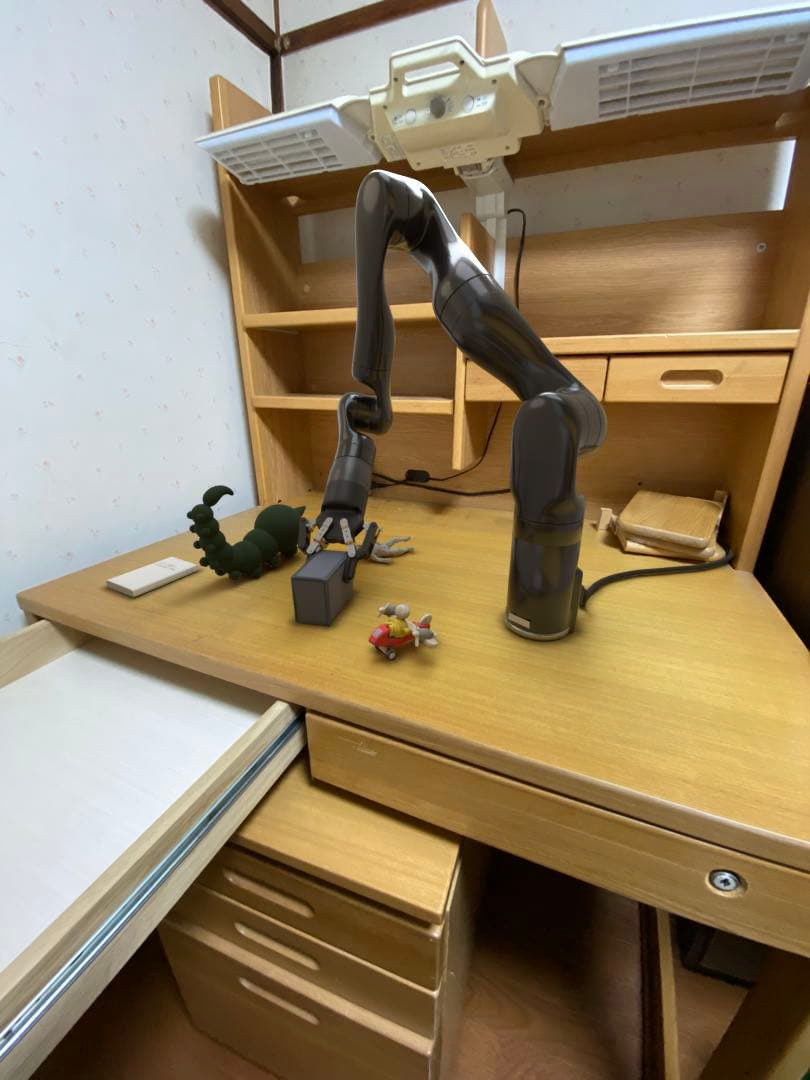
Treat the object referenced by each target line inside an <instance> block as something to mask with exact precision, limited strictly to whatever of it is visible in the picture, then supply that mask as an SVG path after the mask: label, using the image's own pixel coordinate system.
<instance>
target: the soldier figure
mask: <svg viewBox="0 0 810 1080" xmlns="http://www.w3.org/2000/svg"><path fill="white" fill-rule="evenodd" d="M379 529H380V532H383V529H385V527H384V526H382V527H381V526H380V527H379ZM411 539H412V536H411V535H408V536H406V537H397V536H395V537H393V538H390V539H389V540H387V541H385V543H384V542H380V541H376V543H375V546H374V549H373V551H372V554H371V556H370V559H371V560H373V561H375V562H376V563H392V562H394V558H393V557H392V558H391V557H390V556H395V555H402V554H403V553H405V552H413V551H414V550H415V546H410V547H405V548H400V547H395V548H392V547H393V546H395V545H396V544H399V543H402V542H405V543H407V542H410V541H411ZM356 545H357V550H360V548H361V546H362V544H356ZM378 556H379V557H378ZM382 557H389V558H382Z"/></svg>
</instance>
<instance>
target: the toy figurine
mask: <svg viewBox="0 0 810 1080" xmlns="http://www.w3.org/2000/svg"><path fill="white" fill-rule="evenodd" d="M226 495H228V496H232V497H233V496H234V495H235V493H234V490H233V489H232V488H230V487H229V486H226V485H224V484H219V485H215V486H214V485H213V486H211V487H209V488H208V489H207V490H206V491H205V492H204V493H203V495H202V497H201V499H202V503H198V504H196V505H195V506H193V507H192V508H191V510H189V511H187V512H186V518H187V519H188V520H192V522H193V524H191V525H189V528H188V530H189V532H190V533H192V534H196V536H197V537H198V539H197V540H195V541H194V542H193V544H192V545H193V548H194V549H196V550H200V549H201V550H202V551H203V552H204V556H202V557H200V559H199V560H198V563H199V565H200V567H203V568H207V567H209V569H210V570H212V571H214V574H216V576H219V577H223V576H225V575H226V574H228V579H230V581H234V582H235V581H239V580H240V579H241V577H242V575H249V574H250V576H251V577H253V578H259V577H260V576H261V575H262V573H263V572H262V568H261V566H262V565H263V564H266V565H267V566H269V568H276V567H278V566H279V565H280V564H281V557H280V556H279V554H280V555H282V556H283V557H287V558H288V557H293V556H295V555H296V554H297V553H298V551H299V548H298V536H299V524H300V519H301V518H302V517H303V516H304V513H305V512H306V509H307V506H306V505H301V506H297V507H294V508H293V507H292V506H290V505H287V504H283V503H276V504H271V505H269V506H267V507H265V508H264V509H262V510H261V511H260V512H259V513H258V514H257V516H256V518H255V520H254V523H253V529H251V530H249V531H248V532H247V533H246V534H245V535H244V536H243V538H242V540H240V541H238V542H235V543H234V544H233V545H232V544H231V543H229V542H228V541H227V539H226V536H225V534H224V532H222V531H221V529H220V528H221V527H220V523H219V520H217V518H215V517H214V516H215V514H214V513H215V512H214V510H213V508H212V507H214V506H216V505H217V504H218V503H219V501H221V499H222V498H223V497H224V496H226ZM278 553H279V554H278Z"/></svg>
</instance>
